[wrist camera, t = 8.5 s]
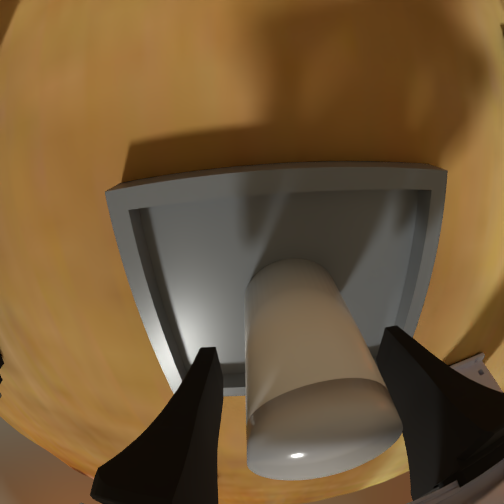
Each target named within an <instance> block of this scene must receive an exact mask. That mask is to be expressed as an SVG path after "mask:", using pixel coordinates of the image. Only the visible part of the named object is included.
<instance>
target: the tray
mask: <svg viewBox="0 0 504 504" xmlns="http://www.w3.org/2000/svg"><path fill="white" fill-rule="evenodd" d="M446 184H447V170H444V169H441V168H438V167H436V166H433V165H430V164H421V163H404V162H379V161H318V162H291V163H273V164H259V165H247V166H235V167H225V168H216V169H207V170H199V171H191V172H184V173H177V174H170V175H163V176H157V177H151V178H145V179H139V180H134V181H128V182H123V183H120V184H118V185H116V186H114V187H112V188H111V189H109V190H107V191H105V195H106V200H107V205H108V209H109V213H110V218H111V222H112V226H113V230H114V234H115V237H116V241H117V245H118V248H119V252H120V255H121V259H122V262H123V266H124V269H125V272H126V275H127V278H128V282H129V285H130V288H131V291H132V294H133V297H134V299H135V302H136V305H137V308H138V311H139V313H140V316H141V319H142V321H143V324H144V327H145V329H146V332H147V334H148V337H149V339H150V342H151V344H152V347H153V349H154V351H155V354H156V356H157V358H158V361H159V363H160V365H161V367H162V370H163V372H164V374H165V376H166V378H167V381H168V383H169V385H170V387H171V389H172V391H173V393H174V394H175V392H176V391H177V389H178V388H179V386H180V384H181V383H182V381H183V379H184V378H185V376H186V374H187V372H188V371H189V369H190V367H191V365H192V363H193V361H194V359H195V357H196V355H197V353H198V351H199V349H200V348H201V347H216V349H217V354H218V358H219V362H220V366H221V370H222V374H223V396H244V395H246V384H245V317H244V298H245V292H246V289H247V287H248V285H249V283H250V281H251V280H252V278H253V277H254V276H255V275H256V274H257V273H258V272H259V271H260V270H262V269H263V268H264V267H266V266H268V265H270V264H272V263H274V262H277V261H280V260H284V259H291V258H299V259H306V260H310V261H313V262H315V263H317V264H319V265H321V266H322V267H323V268H325V269H326V270H327V271H328V273H329V274H330V275H331V277H332V279H333V281H334V282H335V284H336V286H337V288H338V290H339V292H340V294H341V296H342V297H343V299H344V301H345V303H346V305H347V307H348V309H349V311H350V313H351V315H352V317H353V319H354V321H355V322H356V324H357V326H358V328H359V330H360V332H361V334H362V336H363V338H364V340H365V342H366V345H367V347H368V349H369V351H370V353H371V355H372V357H373V359H374V361H375V363H376V365H377V362H376V357H377V354H378V350H379V347H380V344H381V340H382V337H383V333H384V329H385V327H390V326H395V325H397V326H399V327H400V328H401V329H402V330H404V331H405V332H406V333H407V334H408V335H410V336H411V337H412V338H413V335H414V332H415V329H416V326H417V323H418V320H419V317H420V314H421V311H422V307H423V304H424V301H425V297H426V294H427V290H428V286H429V282H430V278H431V274H432V270H433V266H434V261H435V257H436V252H437V247H438V242H439V236H440V231H441V224H442V218H443V211H444V203H445V194H446ZM377 367H378V365H377ZM378 370H379V369H378Z"/></svg>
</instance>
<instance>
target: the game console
mask: <svg viewBox="0 0 504 504" xmlns="http://www.w3.org/2000/svg"><path fill="white" fill-rule="evenodd" d="M3 364H4V362H3V359H2V357H1V354H0V368H1V367H2V365H3ZM1 382H2V378H1V376H0V383H1ZM1 396H2V395H1V393H0V398H1Z"/></svg>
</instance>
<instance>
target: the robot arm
mask: <svg viewBox="0 0 504 504" xmlns="http://www.w3.org/2000/svg"><path fill="white" fill-rule="evenodd" d="M484 357H485V354H484V353H480V354H478V355H476V356H474V357H471V358H469V359H466V360H464V361H461V362H459V363H456V364H454V365H451V366H448V365H447V364H445V363H444V362H442V361H441V360H440V359H438V358H437V357H436V356H434V355H433V354H432V353H430V352H429V351H428V350H427V349H425V348H424V347H423V346H422V345H421V344H419V343H418V342H417V341H416V340H415V339H413V338H412V337H411V336H410V335H408V334H407V333H406V332H405V331H404V330H402V329H401V328H400V327H399V326H397V325H395V326H390V327H385V329H384V333H383V337H382V340H381V344H380V347H379V350H378V354H377V357H376V362H377V365H378V369H379V372H380V374H381V376H382V378H383V380H384V383H385V385H386V387H387V389H388V391H389V394H390V396H391V398H392V401H393V403H394V405H395V407H396V410H397V412H398V414H399V417H400V419H401V422H402V424H403V431H402V433H403V437H404V441H405V446H406V450H407V456H408V463H409V470H410V480H411V481H410V482H411V496H412V499H413V501H412V502H410V503H407V504H504V393H503V392H502V390H501V388H500V387H499V385H498V384H497V382H496V381H495V379H494V378H493V376H492V375H491V373H490V372H489V370H488V369H487V367H486V366H485V364H484V363H483V361H482V360H483V359H484ZM222 405H223V374H222V370H221V366H220V362H219V358H218V354H217V349H216V347H201V348H200V349H199V351H198V353H197V355H196V357H195V359H194V361H193V363H192V365H191V367H190V369H189V371H188V372H187V374H186V376H185V378H184V379H183V381H182V383H181V384H180V386H179V388H178V389H177V391H176V392H175V394H174V395H173V396H172V398H171V399H170V401H169V402H168V404H167V405H166V406H165V408H164V409H163V410H162V412H161V413H160V414H159V415H158V417H157V418H156V419H155V420H154V421H153V422H152V423H151V425H150V426H149V427H148V428H147V429H146V430H145V431H144V432H143V433H142V434H141V435H140V436H139V437H138V438H137V439H136V440H135V441H133V442H132V443H131V444H130V445H129V446H128V447H126V448H125V449H124V450H123V451H122V452H120V453H119V454H118V455H117V456H115V457H114V458H112V459H111V460H109V461H108V462H106V463H105V464H104V465H102V466H100V467H99V468H98V470H97V472H96V475H95V478H94V482H93V485H92V489H91V493H90V496H91V497H92V498H93V499H95V500H96V501H98V502H100V503H102V504H218V485H217V447H218V437H219V429H220V421H221V413H222ZM80 504H84V503H80Z"/></svg>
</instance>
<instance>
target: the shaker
mask: <svg viewBox="0 0 504 504" xmlns="http://www.w3.org/2000/svg"><path fill="white" fill-rule="evenodd" d="M244 317H245V384H246V434H247V466H248V468H249V469H250V470H251V471H252V472H254V473H255V474H257V475H260V476H263V477H266V478H271V479H277V480H306V479H314V478H320V477H325V476H330V475H334V474H337V473H341V472H344V471H347V470H350V469H352V468H355V467H357V466H360V465H362V464H364V463H366V462H368V461H370V460H372V459H374V458H375V457H377V456H378V455H380V454H382V453H383V452H384V451H386V450H387V449H388V448H389V447H391V446H392V445H393V444H394V443H395V442H396V441H397V439H398V438H399V437H400V435H401V433H402V431H403V424H402V422H401V419H400V417H399V414H398V412H397V410H396V407H395V405H394V403H393V401H392V398H391V396H390V394H389V391H388V389H387V387H386V385H385V383H384V380H383V378H382V376H381V374H380V372H379V370H378V367H377V365H376V363H375V361H374V359H373V357H372V355H371V353H370V351H369V349H368V347H367V345H366V342H365V340H364V338H363V336H362V334H361V332H360V330H359V328H358V326H357V324H356V322H355V321H354V319H353V317H352V315H351V313H350V311H349V309H348V307H347V305H346V303H345V301H344V299H343V297H342V296H341V294H340V292H339V290H338V288H337V286H336V284H335V282H334V281H333V279H332V277H331V275H330V274H329V273H328V271H327V270H326V269H325V268H323V267H322V266H321V265H319V264H317V263H315V262H313V261H310V260H306V259H299V258H291V259H284V260H280V261H277V262H274V263H272V264H270V265H268V266H266V267H264V268H263V269H262V270H260V271H259V272H258V273H257V274H256V275H255V276H254V277H253V278H252V280H251V281H250V283H249V285H248V287H247V289H246V292H245V298H244Z"/></svg>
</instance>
